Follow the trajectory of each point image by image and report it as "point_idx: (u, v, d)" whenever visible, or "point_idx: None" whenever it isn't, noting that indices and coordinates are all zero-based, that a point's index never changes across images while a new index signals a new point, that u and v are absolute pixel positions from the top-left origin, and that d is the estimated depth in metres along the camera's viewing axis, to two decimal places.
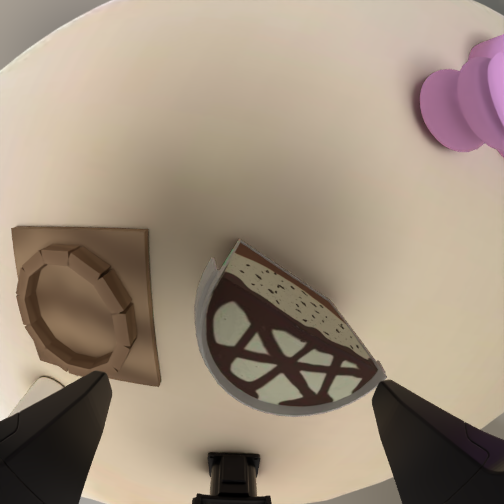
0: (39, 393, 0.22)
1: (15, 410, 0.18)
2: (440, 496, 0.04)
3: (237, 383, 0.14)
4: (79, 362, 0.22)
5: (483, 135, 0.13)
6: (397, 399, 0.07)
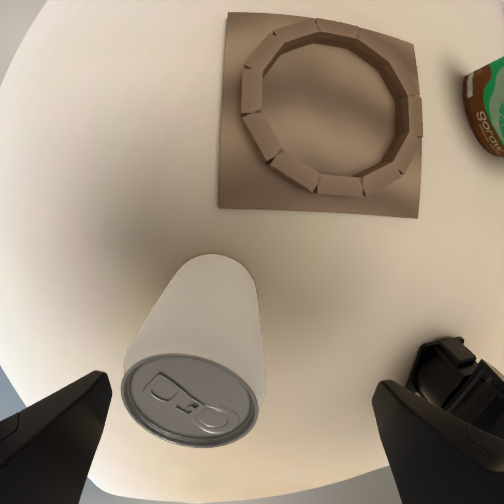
0: (214, 267, 0.17)
1: (175, 294, 0.13)
2: (440, 496, 0.04)
3: None
4: None
5: None
6: (397, 399, 0.07)
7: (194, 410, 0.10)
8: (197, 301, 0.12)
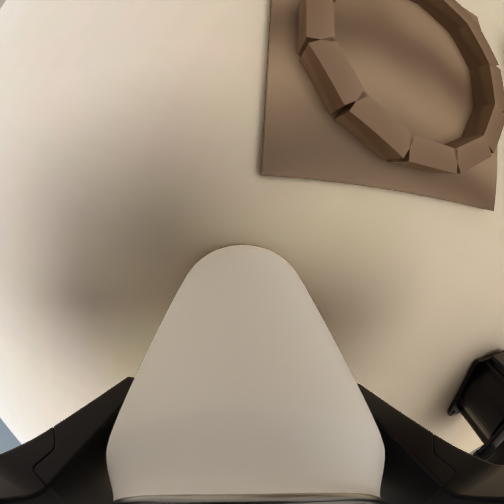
0: (259, 264, 0.11)
1: (204, 314, 0.07)
2: None
3: None
4: None
5: None
6: None
7: None
8: (258, 334, 0.06)
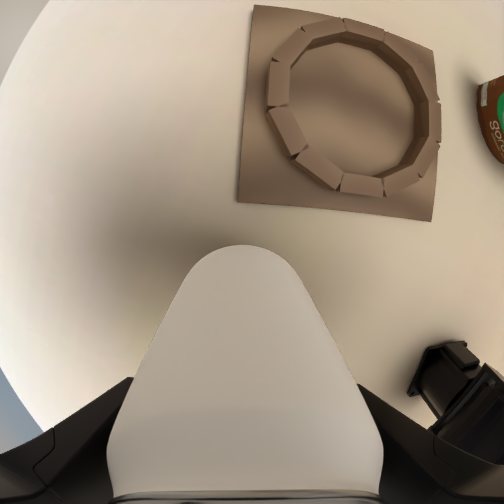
0: (258, 264, 0.11)
1: (204, 313, 0.07)
2: None
3: None
4: None
5: None
6: None
7: None
8: (256, 333, 0.06)
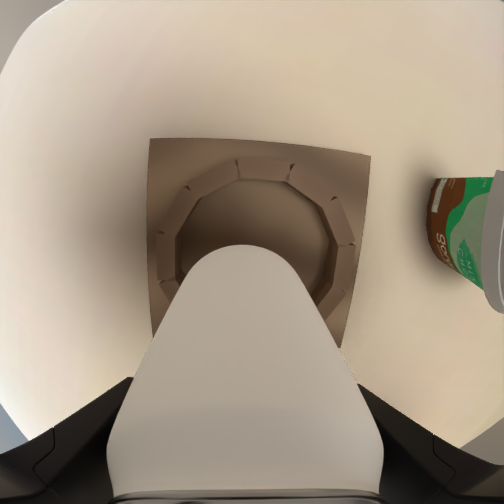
0: (258, 264, 0.11)
1: (204, 313, 0.07)
2: None
3: None
4: None
5: None
6: None
7: None
8: (257, 332, 0.06)
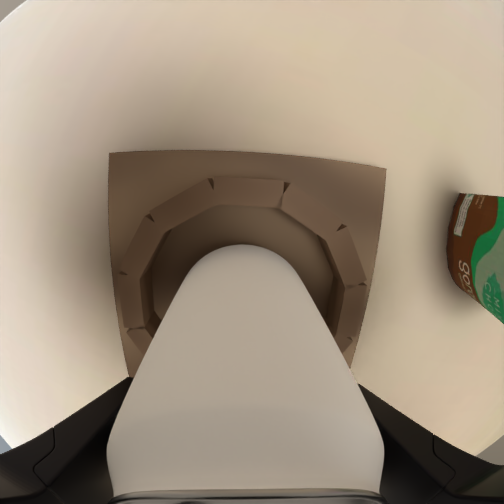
0: (258, 263, 0.11)
1: (204, 312, 0.07)
2: None
3: None
4: None
5: None
6: None
7: None
8: (257, 331, 0.06)
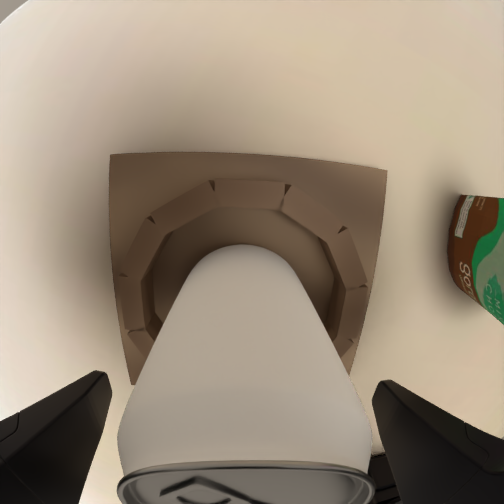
0: (257, 263, 0.11)
1: (207, 307, 0.08)
2: (440, 496, 0.04)
3: None
4: None
5: None
6: (397, 399, 0.07)
7: None
8: (255, 324, 0.07)
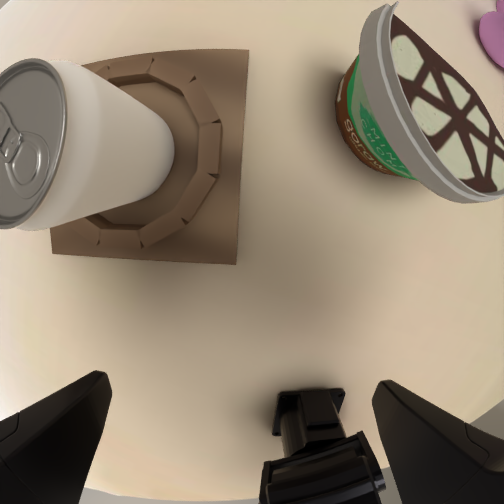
0: None
1: None
2: (440, 496, 0.04)
3: None
4: (120, 227, 0.17)
5: None
6: (397, 399, 0.07)
7: (12, 152, 0.06)
8: None
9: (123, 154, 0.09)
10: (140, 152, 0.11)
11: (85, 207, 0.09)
